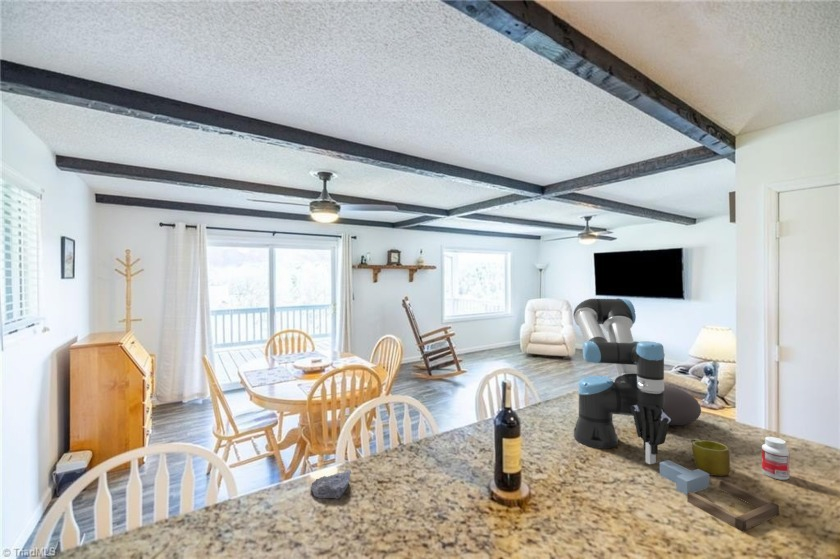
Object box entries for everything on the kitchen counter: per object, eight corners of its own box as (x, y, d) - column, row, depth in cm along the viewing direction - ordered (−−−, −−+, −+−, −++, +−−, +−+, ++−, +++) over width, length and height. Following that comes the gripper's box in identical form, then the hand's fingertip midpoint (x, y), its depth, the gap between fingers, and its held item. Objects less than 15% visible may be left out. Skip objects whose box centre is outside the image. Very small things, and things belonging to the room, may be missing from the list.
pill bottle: (769, 468, 117) (769, 434, 117) (794, 478, 112) (794, 442, 111) (757, 472, 115) (757, 437, 115) (781, 482, 110) (782, 445, 109)
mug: (746, 476, 110) (730, 441, 112) (709, 483, 112) (694, 449, 114) (724, 463, 121) (710, 432, 124) (691, 470, 123) (678, 439, 126)
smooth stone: (640, 406, 172) (640, 374, 172) (706, 421, 154) (706, 386, 154) (621, 421, 156) (621, 386, 156) (693, 440, 137) (693, 400, 137)
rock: (350, 465, 114) (350, 479, 104) (351, 483, 114) (352, 498, 104) (311, 472, 112) (307, 486, 102) (312, 490, 111) (308, 506, 101)
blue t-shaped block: (653, 477, 113) (653, 464, 113) (674, 470, 117) (674, 458, 117) (687, 495, 104) (687, 481, 104) (709, 487, 108) (709, 473, 108)
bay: (687, 501, 101) (687, 492, 101) (723, 488, 107) (723, 479, 107) (742, 531, 89) (742, 521, 89) (779, 514, 95) (779, 505, 95)
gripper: (624, 386, 123) (624, 455, 124) (661, 397, 111) (662, 474, 111) (639, 383, 126) (640, 451, 126) (678, 394, 114) (678, 469, 114)
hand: (650, 462), depth 119 cm, fingers closed
